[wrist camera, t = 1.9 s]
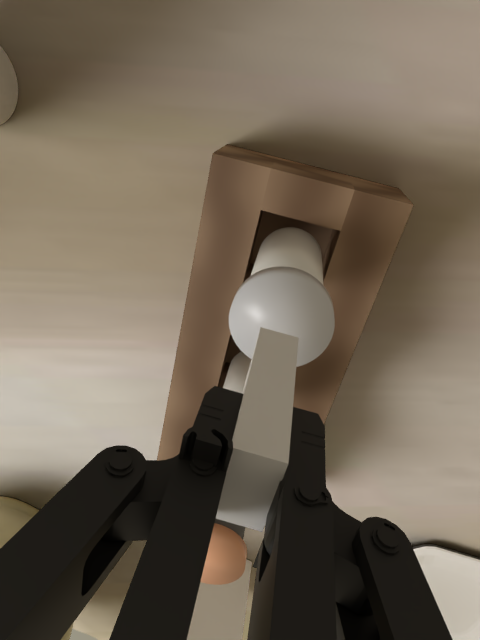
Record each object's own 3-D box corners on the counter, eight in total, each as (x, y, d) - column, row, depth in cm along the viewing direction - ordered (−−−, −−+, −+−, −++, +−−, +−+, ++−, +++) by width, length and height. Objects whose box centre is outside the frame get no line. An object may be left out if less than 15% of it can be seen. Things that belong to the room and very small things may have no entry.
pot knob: (197, 472, 38) (167, 572, 30) (207, 430, 36) (178, 527, 28) (252, 487, 38) (236, 592, 30) (266, 446, 36) (252, 548, 28)
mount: (169, 442, 44) (153, 481, 39) (227, 144, 30) (212, 153, 26) (288, 474, 43) (285, 518, 39) (399, 188, 30) (413, 205, 26)
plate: (372, 516, 45) (373, 529, 43) (561, 573, 45) (568, 587, 43) (309, 619, 54) (309, 632, 53) (465, 667, 54) (469, 681, 53)
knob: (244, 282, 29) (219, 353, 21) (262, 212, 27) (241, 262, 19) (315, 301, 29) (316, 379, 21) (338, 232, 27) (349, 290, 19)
